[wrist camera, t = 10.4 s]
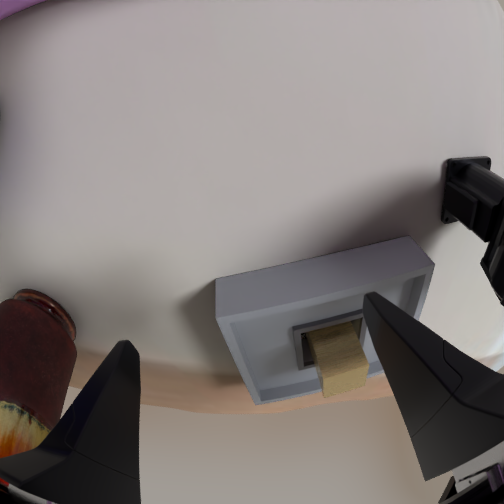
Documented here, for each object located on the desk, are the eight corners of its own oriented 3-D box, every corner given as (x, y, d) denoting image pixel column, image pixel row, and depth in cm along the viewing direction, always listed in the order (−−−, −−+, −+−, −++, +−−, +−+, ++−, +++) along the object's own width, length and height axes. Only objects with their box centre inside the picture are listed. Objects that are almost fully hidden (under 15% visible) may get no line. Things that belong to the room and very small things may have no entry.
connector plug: (340, 299, 27) (369, 364, 20) (340, 324, 29) (364, 385, 22) (302, 310, 27) (323, 379, 20) (305, 334, 29) (323, 398, 23)
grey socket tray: (409, 235, 23) (434, 264, 19) (387, 339, 32) (400, 366, 29) (215, 278, 24) (215, 318, 20) (251, 373, 33) (255, 405, 29)
